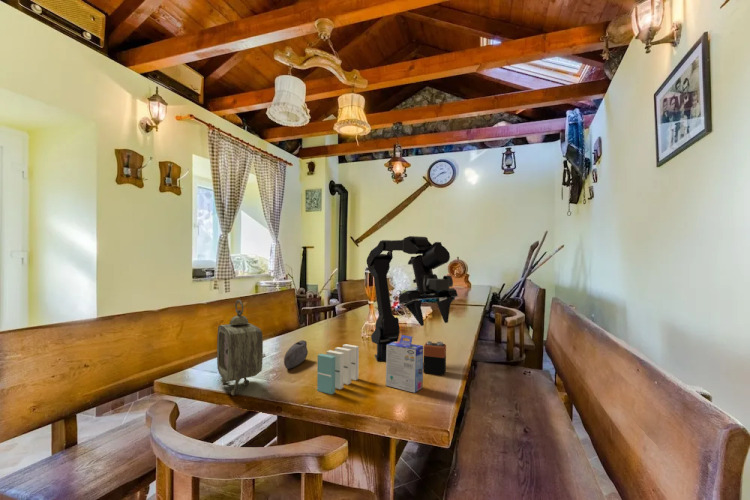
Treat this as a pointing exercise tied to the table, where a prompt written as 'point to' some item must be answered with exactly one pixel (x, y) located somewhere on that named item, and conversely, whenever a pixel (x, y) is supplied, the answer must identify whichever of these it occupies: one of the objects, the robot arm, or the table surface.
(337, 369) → the domino
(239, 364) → the tabletop clock
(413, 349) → the ink cartridge box
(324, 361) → the domino
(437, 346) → the battery
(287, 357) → the perforated stone tool
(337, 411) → the table surface
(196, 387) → the table surface
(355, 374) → the domino
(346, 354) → the domino
